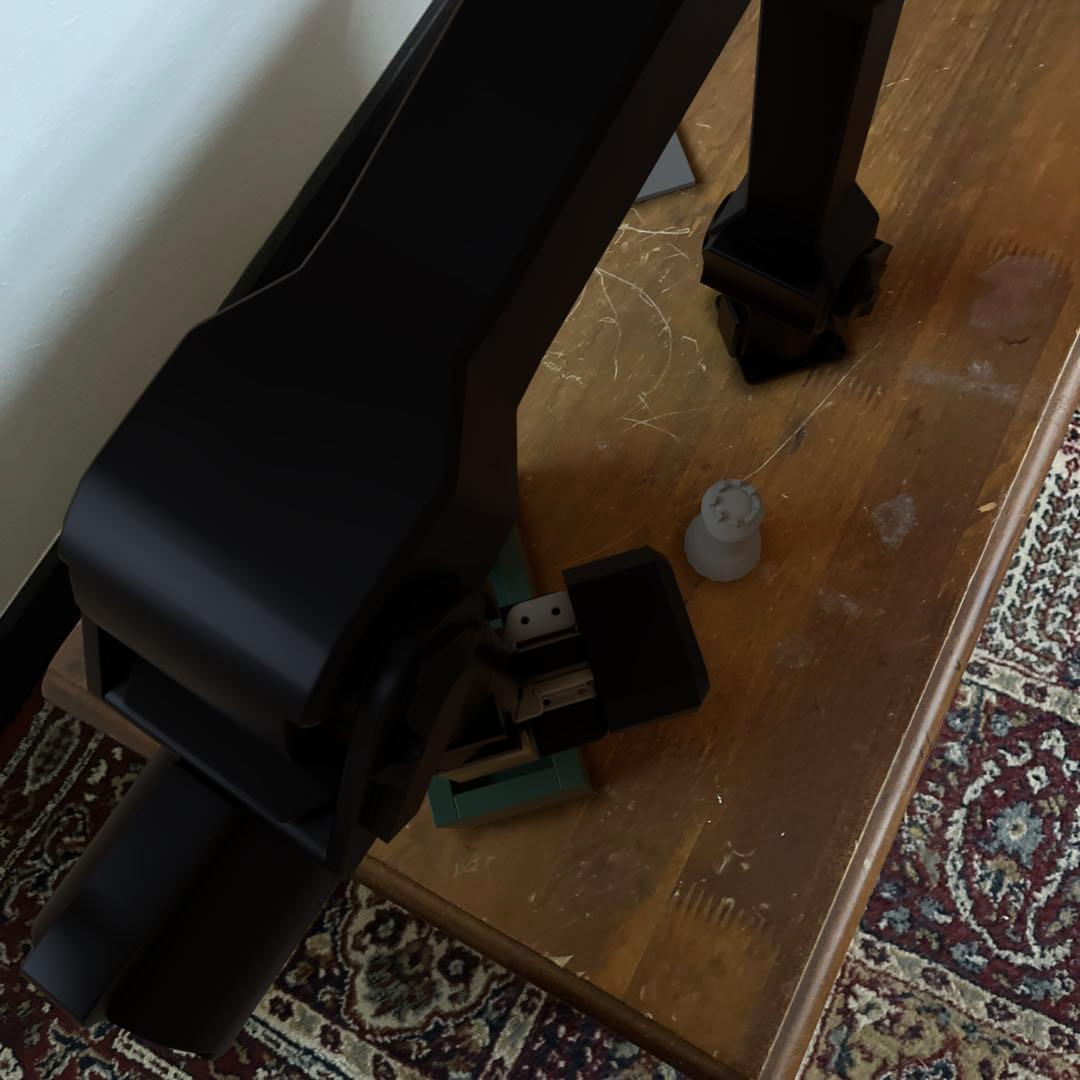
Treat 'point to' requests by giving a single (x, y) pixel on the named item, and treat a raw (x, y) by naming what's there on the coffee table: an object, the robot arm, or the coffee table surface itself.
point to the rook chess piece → (726, 531)
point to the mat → (668, 173)
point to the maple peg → (497, 761)
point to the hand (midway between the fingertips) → (479, 722)
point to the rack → (522, 783)
